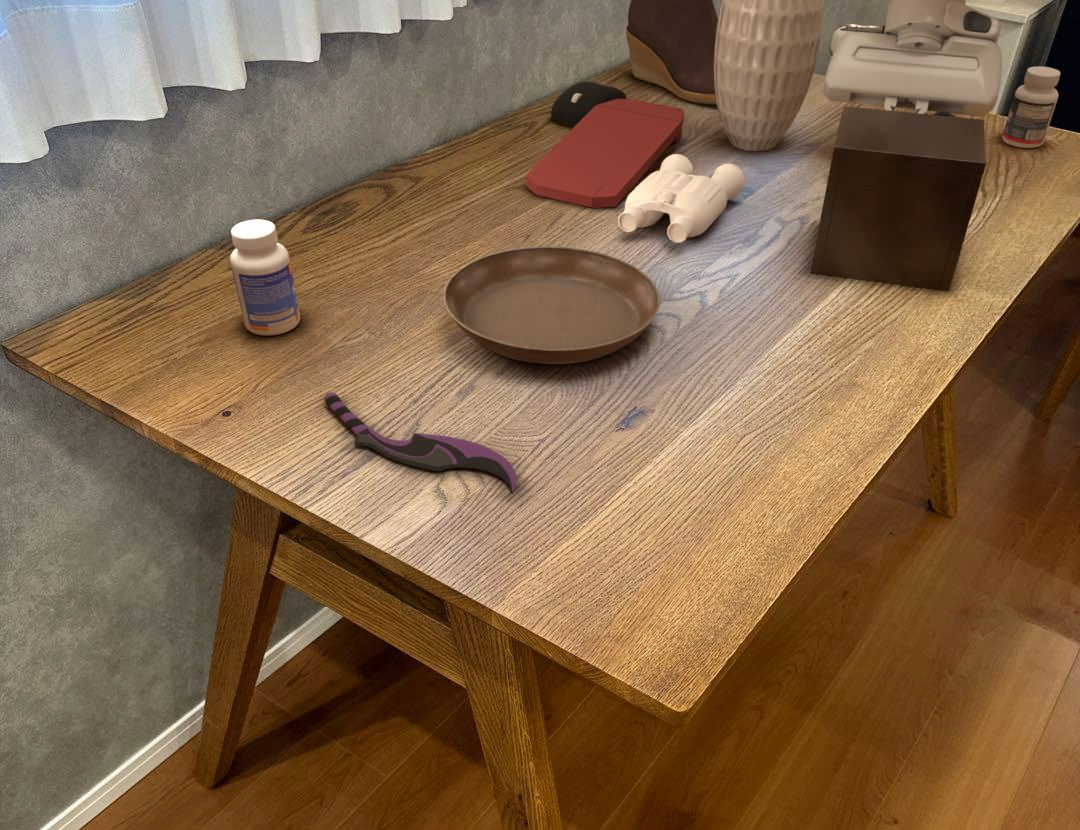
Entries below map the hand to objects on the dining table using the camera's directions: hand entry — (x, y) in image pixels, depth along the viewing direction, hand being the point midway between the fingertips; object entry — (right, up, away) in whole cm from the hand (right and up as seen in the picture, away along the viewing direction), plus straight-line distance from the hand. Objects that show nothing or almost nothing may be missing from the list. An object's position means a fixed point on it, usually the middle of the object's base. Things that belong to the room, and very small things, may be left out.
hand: (898, 139), depth 123 cm
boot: (-21, +18, +27) cm, 39 cm away
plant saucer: (-42, -27, -24) cm, 56 cm away
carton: (-34, -1, +6) cm, 35 cm away
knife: (-54, -41, -39) cm, 78 cm away
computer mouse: (-36, +11, +19) cm, 42 cm away
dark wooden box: (-7, -18, -14) cm, 23 cm away
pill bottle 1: (-70, -28, -24) cm, 79 cm away
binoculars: (-28, -12, -6) cm, 31 cm away
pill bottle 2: (+20, +4, +12) cm, 24 cm away
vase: (-15, +4, +11) cm, 19 cm away
